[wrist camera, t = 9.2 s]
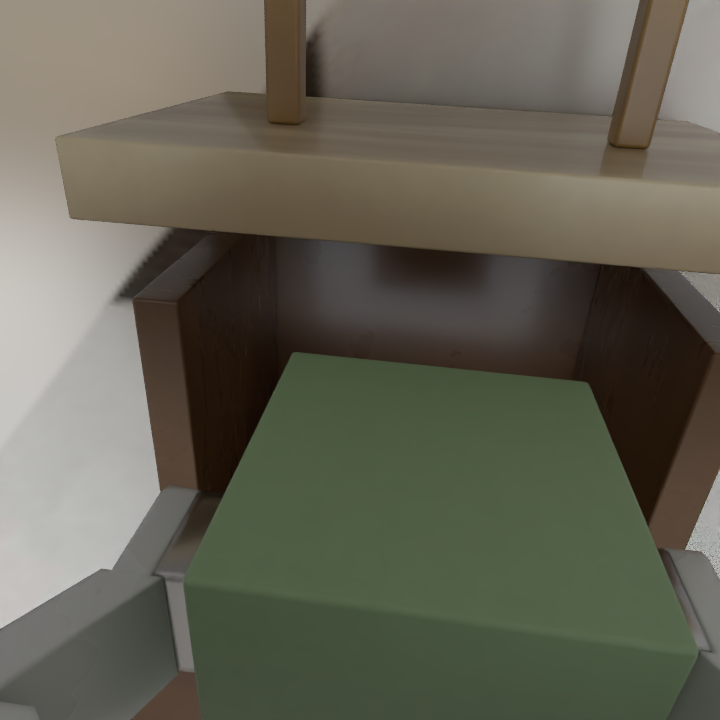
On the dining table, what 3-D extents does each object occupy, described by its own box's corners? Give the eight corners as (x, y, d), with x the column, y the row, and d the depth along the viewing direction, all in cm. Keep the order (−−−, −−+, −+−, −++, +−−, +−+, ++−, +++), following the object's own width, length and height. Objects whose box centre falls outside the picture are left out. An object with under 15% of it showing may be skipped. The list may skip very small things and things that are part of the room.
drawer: (214, -121, 13) (-28, -287, 6) (754, -103, 12) (1142, -274, 5) (249, 515, 22) (164, 726, 15) (561, 554, 21) (616, 797, 15)
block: (293, 557, 11) (214, 831, 7) (292, 349, 9) (178, 580, 5) (532, 590, 11) (580, 895, 7) (589, 380, 9) (703, 653, 5)
